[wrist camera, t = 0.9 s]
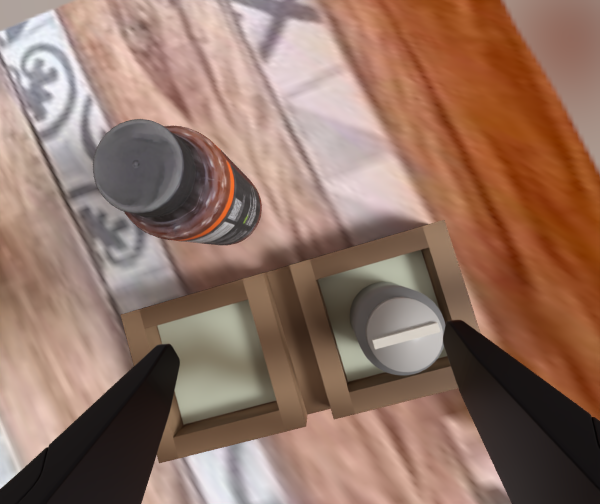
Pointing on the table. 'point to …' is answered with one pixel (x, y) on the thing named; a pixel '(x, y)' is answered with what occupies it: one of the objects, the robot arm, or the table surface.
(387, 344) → the seated grey knob
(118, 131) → the supplement bottle
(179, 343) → the walnut twin holder
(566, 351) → the table surface
